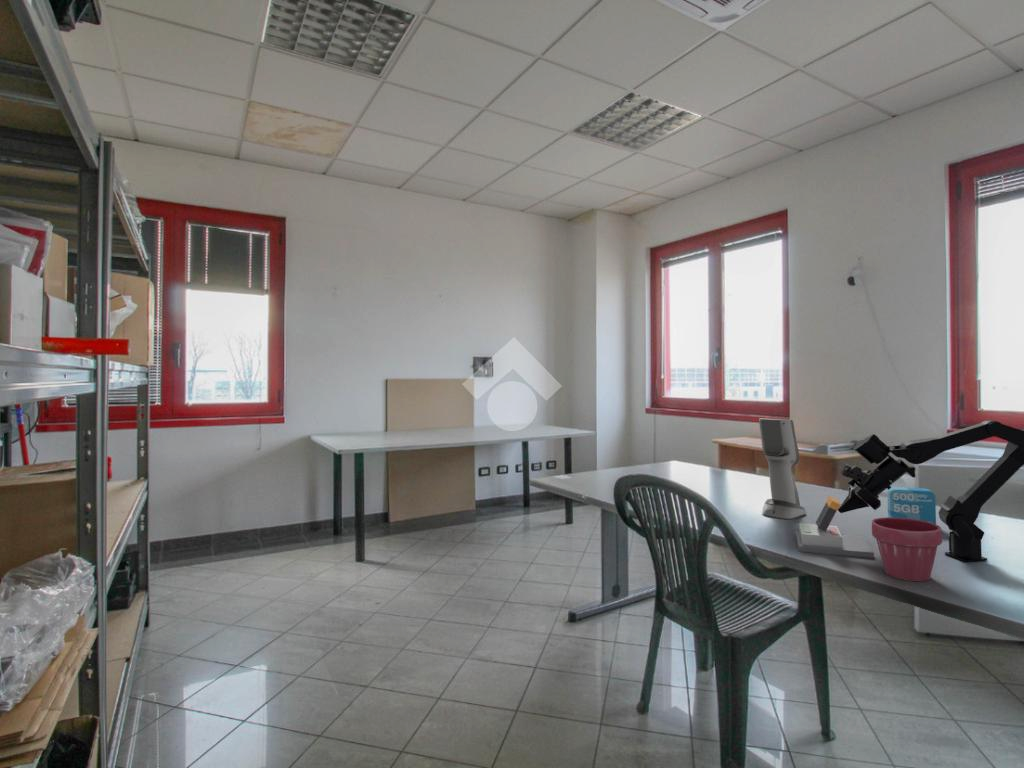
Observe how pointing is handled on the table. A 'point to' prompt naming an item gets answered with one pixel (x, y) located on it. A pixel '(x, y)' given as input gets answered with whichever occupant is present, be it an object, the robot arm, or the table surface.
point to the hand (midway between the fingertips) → (839, 511)
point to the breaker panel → (847, 549)
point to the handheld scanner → (781, 468)
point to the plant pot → (907, 546)
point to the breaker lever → (827, 513)
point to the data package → (912, 504)
